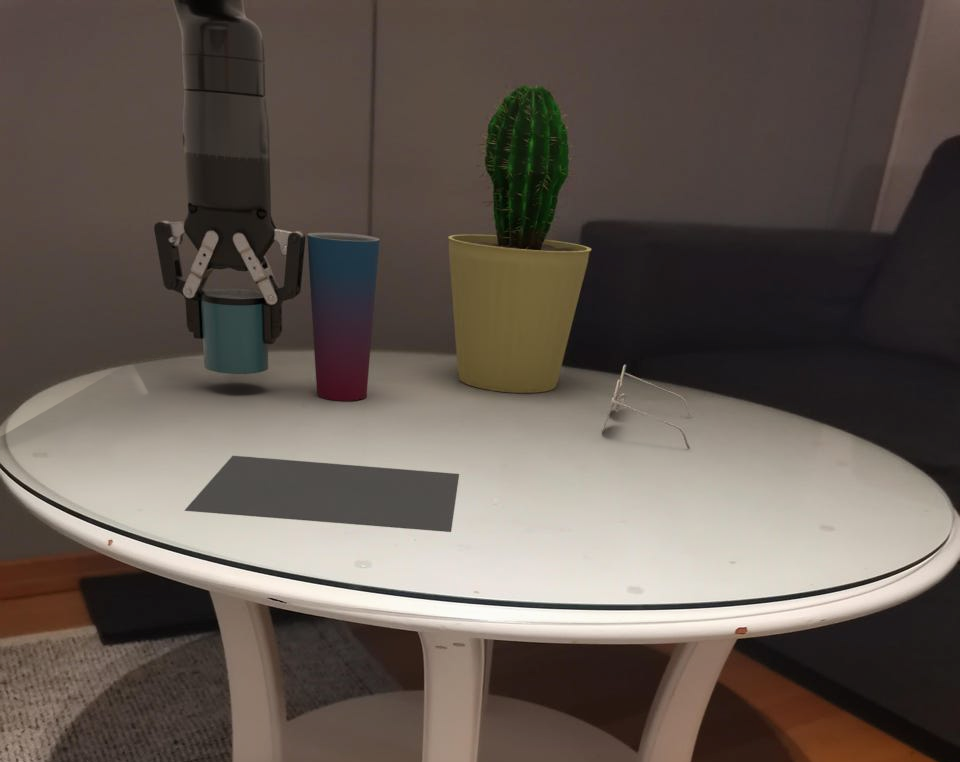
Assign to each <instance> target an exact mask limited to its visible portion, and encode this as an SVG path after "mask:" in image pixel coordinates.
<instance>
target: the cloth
mask: <svg viewBox="0 0 960 762" xmlns="http://www.w3.org/2000/svg"><path fill="white" fill-rule="evenodd" d="M459 479H460V473H455V472H454V473H453V472H452V473H451V472H442V471H441V472H440V471H429V470H428V471H427V470H417V469H404V468H392V467H380V466H379V467H378V466H367V465H354V464H344V463H343V464H342V463H332V462H331V463H329V462H319V461H318V462H317V461H305V460H291V459H282V458H281V459H279V458H268V457H266V458H265V457H255V456H243V455H232V456H231V457H230V458H229V459H228V460H227V461H226V462H225V464H224V465H223V466H222V467H221V468H220V469H219V470H218V472H217V473H216V474H215V475H214V476H213V477H212V479H210V481H209V482H208V483H207V484H206V485H205V486H204V488H203V489H201V491H200V492H199V493H198V494H197V495H196V497H195V498H194V499H193V500H192V501H191V502H190V503H189V504H188V506H187V507H186V508H185V509H184V511H185V512H194V513H208V514H220V515H233V516H245V517H258V518H269V519H280V520H281V519H284V520H296V521H306V522H308V521H309V522H319V523H330V524H331V523H334V524H344V525H346V524H347V525H355V526H357V525H359V526H368V527H369V526H371V527H382V528H393V529H394V528H395V529H407V530H419V531H433V532H445V533H446V532H447V533H451V532H452V528H453V521H454V515H455V514H454V513H455V507H456V501H457V500H456V499H457V492H458V486H459Z"/></svg>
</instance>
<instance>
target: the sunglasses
mask: <svg viewBox="0 0 960 762" xmlns="http://www.w3.org/2000/svg"><path fill="white" fill-rule="evenodd" d="M626 368H627V364H624V365H623V366H622V369H621V374H620V376H619V379H618V380H617V381H616V386H615V389H614V392H613V395H612V398H611V400H610V405H609V408H608V412H607V415H606V418H605V420H604V424H603V427H602V430H601V433H604V431H605V429H606V426H607V423H608V420H609V417H610V416H611V413H612V411H613V408H614V407H615V409H614V411H615V412H616V413H619V412H620V411H621V409H622V408H624V409H627V410H631V411H634V412H636V413H639V414H641V415H644V416H647V417H648V418H652V419H654V420H657V421H660V422H663V423H664V424H665V425H666V424H667V425H669V426H670V427H671V426H672V427H674V428H675V429H678V430H679V431H680V432H681V434H682V436H683V441H684V443H685V446H686V449H687V450H691V447H690V445H689V442H688V438H687V436H686V434H685V432H684V430H683V429H682V428H681V427H680V426H678V425H676V424H673V423H671V422H669V421H666V420H663V419H660V418H658V417H655V416H653V415H650V414H648V413H645V412H643V411H640V410H639V409H635V408H633V407H631V406H628V405H626V404H624V402H625V400H626V393H621V394H619V391H620V388H621V387H622V386H623V383H622V382H623V379H624V376H628V377H630V378H632V379H634V380H637V381H640V382H641V383H644V384H647V385H650V386H653V387H656V388H658V389H660V390H663V391H666V392H668V393H669V394H670V395H674V396H676V397H678V398H680V399H681V400H682V401H683V403H684V405H685V408H686V412H687V415H688V417H689V419H690V418H693V416H692V415H691V412H690V409H689V406H688V403H687V401H686V399H685V398H684V397H683V396H682V395H680V394H678V393H676V392H673V391H670V390H667V389H664V388H662V387H660V386H657V385H656V384H653V383H650V382H648V381H646V380H644V379H642V378H639V377H637V376H634V375H632V374H630V373H627V372H626Z"/></svg>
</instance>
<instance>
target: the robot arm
mask: <svg viewBox="0 0 960 762" xmlns="http://www.w3.org/2000/svg"><path fill="white" fill-rule="evenodd" d="M172 4H173V7H174V8H173V9H174V12H175V15H176V19H177V21H178V25H179V28H180V35H181V61H182V81H183V90H184V91H183V109H182V136H181V137H182V146H183V149H184V163H185V179H186V180H185V182H186V201H187V214H186V217H185V219H184V220H183V221H171V220H169V219H167V220H161V221H158V222H156V223H155V224H154V226H153V231H154V236H155V242H156V248H157V254H158V259H159V260H158V261H159V265H160V270H161V277H162V282H163V286H164V288H165V289H167V290H169V291H175V292H176V293H179V294H180V295H182V296H183V298H184V300H185V301H184V302H185V315H186V316H185V317H186V328H187V330H188V332H189V333H192V334H193V338H194V339H197V340H203V332H202V315H201V299H200V292H201V291H204V288H205V286H206V284H207V282H208V279H209V277H210V275H211V274H212V273H213V271H214V270H225V269H231V270H235V271H237V272H249V274H250V276H251V278H252V280H253V281H254V283H255V284H256V285H257V287H258V288H259V290H260V291H259V292H261V293H262V295H263V297H264V299H265V301H266V304H264V305H263V311H264V342H265V344H268V345H274V344H275V343H276V341H277V339H279V338H280V337H281V335H282V333H283V309H282V308H283V307H282V306H283V303H284V302H285V301H289V300H293V299H295V298H296V297H297V296H298V295H300V294H301V290H302V280H303V272H304V271H303V270H304V269H303V268H304V258H305V247H306V235H305V233H304V232H303V231H302V230H296V231H290V230H286V229H285V230H284V229H281V228H277V226H276V225H275V223H274V220H273V218H272V200H271V199H272V198H271V197H272V196H271V195H272V194H271V193H272V191H271V156H270V155H271V153H270V126H269V125H270V124H269V116H268V110H267V102H266V101H267V99H266V66H265V65H266V63H265V62H266V61H265V47H264V38H263V34H262V32H261V29H260V28H259V26H258V24H256V23H255V22H254V21H252V20H251V19H249V18H247V16H246V11H245V6H244V0H172ZM184 235H186V236H187V237H188V239H189V240H190V242H191V243H192V245H193V246H194V247H195V249H196V250H197V254H196V256H195V258H194V260H193V263H192V265H191V267H190V270H189V274H188V276H187V277H184V275H183V267H182V263H181V257H180V251H179V250H180V249H179V246H180V245H182V243H183V240H184V239H183V237H184ZM275 241H276V242H277V243H278V245H279V250H280V252H281V254H283V255H284V256H286V257H285V268H284V279H283V285H282V286H279V283H278V282H277V280H276V277H275V275H274V271H273V269H272V267H271V265H270V263H269V260H268V259H267V257H266V254H267V253H268V251H269V249H270V248H271V247H272V246H273V244H274V242H275Z"/></svg>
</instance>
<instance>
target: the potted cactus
mask: <svg viewBox="0 0 960 762" xmlns="http://www.w3.org/2000/svg"><path fill="white" fill-rule="evenodd" d="M515 80H516V83H518V81H517V79H515ZM548 82H550V79H549V81H548ZM513 84H514V85H513V86H514V87H513V88H514V91H512V92H511V93H510V92H509V89H508V87H507V86H506V85H505V88H506V92H507V95H508V96H506V97H504V98H502V97H501V95H500V94H498V96H499V97H498V96H497V99H498V101H499V103H500V105H499V106H498V107H497V106H496V105H495V104H494V103H492V105H494V107H495V108H497V109H496V112H495V113H494V114H493V113H492V112H490V111H488V110H487V111H488V113H489V115H491V118H490V117H489V115H488V114H486V115H487V116H486V115H485V118H486V119H485V118H484V121H485V122H486V123H487V124H488V125H487V132H485V131H483V133H479V132H478V134H479V135H480V136H482V137H483V138H486V139H485V141H484V143H479V145H481V146H482V149H485V150H478V152H479V153H480V152H481V154H482V155H481V154H480V155H478V157H484V162H483V163H479V164H477V165H476V168H479V167H482V166H483V168H481V170H483V171H484V172H483V173H482V174H481V175H480V177H483V178H485V179H487V178H488V180H490V181H491V182H490V183H489V186H487V189H488V190H490V188H491V187H492V189H493V190H492V199H491V200H489V201H484V202H481V203H485V204H487V203H489V204H488V205H485V207H486V208H487V207H488V206H491V205H492V203H493V208H492V209H493V218H489V219H488V220H494V222H491V223H490V224H489V225H493V224H494V227H495V228H494V229H492V230H491V231H490V232H487V234H453V235H449V236H448V237H447V238H448V257H449V258H448V259H449V267H450V268H449V271H450V281H451V295H452V309H453V323H454V325H453V326H454V336H455V337H454V339H455V350H456V353H455V354H456V365H457V366H456V367H457V374H458V375H457V376H458V380H459V381H461V382H462V383H463V384H466V385H468V386H472V387H474V388H479V389H483V390H487V391H493V392H501V393H512V394H514V393H516V394H517V393H519V394H531V393H532V394H535V393H544V392H548V391H552V390H554V389H556V388H557V385H558V382H559V377H560V374H561V369H562V365H563V361H564V358H565V353H566V349H567V345H568V341H569V337H570V333H571V330H572V326H573V321H574V318H575V317H574V316H575V314H576V309H577V306H578V302H579V298H580V294H581V290H582V287H583V282H584V279H585V275H586V271H587V267H588V263H589V258H590V253H591V252H592V248H591V247H589V246H586V245H582V244H577V243H572V242H566V241H558V240H552V239H548V238H547V236H549V234H548V233H549V232H550V233H551V234H553V235H554V236H555V237H557V235H556V234H554V233H555V232H556V233H557V231H555V229H553V228H551V226H553V227H556V228H557V226H555V225H554V224H553V222H557V223H560V224H561V222H558V221H557V220H556V219H554V218H560V217H559V216H556V215H555V214H556V213H557V211H556V209H558V208H559V209H562V207H561V206H560V205H558V201H559V198H561V197H564V196H563V195H566V197H567V198H569V196H568V195H567V194H566V193H567V189H566V188H565V187H564V186H563V185H564V183H565V182H568V180H567V179H569V180H570V181H572V182H574V180H572V179H573V177H571V176H570V175H572V176H574V173H573V172H571V173H570V172H569V171H570V169H569V163H570V162H571V161H572V160H573V159H574V158H576V157H577V156H578V155H575V156H573V157H570V158H569V153H570V150H569V148H573V147H576V146H577V144H575V143H573V142H574V141H575V142H576V140H577V139H574V140H572V141H569V140H568V139H569V137H568V133H569V132H570V130H567V129H568V128H570V126H572V125H573V123H571V124H570V125H567V127H566V124H565V122H564V121H563V120H562V119H563V118H565V117H567V116H569V115H573V114H574V113H570V114H569V113H566V114H562V112H564V111H566V110H568V109H569V107H568V106H567V107H565V108H564V107H563V104H560V105H559V104H558V103H557V102H556V100H557V99H558V97H555V99H554V93H555V91H556V90H553V91H551V89H552V88H553V86H550V84H547V86H546V87H547V88H544V86H542V85H539V86H538V85H537V83H535V84H536V87H535V85H532V87H530V86H529V85H527V84H523V85H520V87H517V85H516V84H515V83H513ZM562 108H563V109H562ZM567 119H568V118H567ZM567 119H566V120H567ZM484 134H485V135H487V136H485V135H484ZM571 143H573V144H571ZM569 144H570V145H569ZM477 147H478V148H480V146H477ZM484 153H485V154H484ZM483 154H484V155H483ZM484 182H485V183H486V182H487V180H485V181H484ZM568 185H570V183H568ZM560 191H562V192H563V193H562V192H560ZM565 192H566V193H565ZM559 196H561V197H559ZM494 230H496V231H495V232H496V235H495V234H494V235H493V234H491V233H492V232H494ZM553 232H554V233H553ZM488 233H490V234H488Z"/></svg>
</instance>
